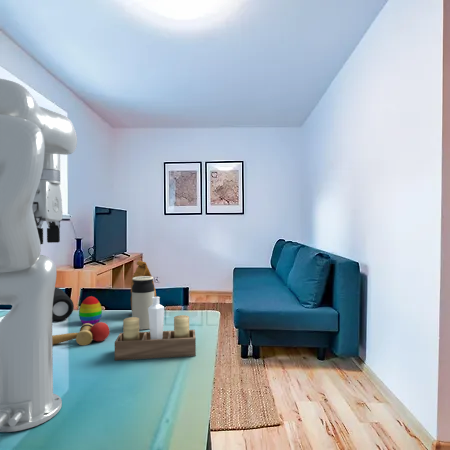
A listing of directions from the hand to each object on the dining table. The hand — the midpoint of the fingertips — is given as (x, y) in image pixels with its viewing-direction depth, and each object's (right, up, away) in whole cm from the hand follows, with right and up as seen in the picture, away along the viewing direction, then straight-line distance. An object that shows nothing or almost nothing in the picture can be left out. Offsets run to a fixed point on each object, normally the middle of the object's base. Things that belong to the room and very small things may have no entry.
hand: (45, 243), depth 89 cm
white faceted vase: (+27, -31, +9) cm, 43 cm away
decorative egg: (-4, -33, +41) cm, 53 cm away
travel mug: (+18, -33, +35) cm, 51 cm away
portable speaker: (-23, -33, +53) cm, 67 cm away
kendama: (+1, -33, +19) cm, 38 cm away
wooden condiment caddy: (+27, -32, +10) cm, 43 cm away
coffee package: (+14, -33, +51) cm, 62 cm away
